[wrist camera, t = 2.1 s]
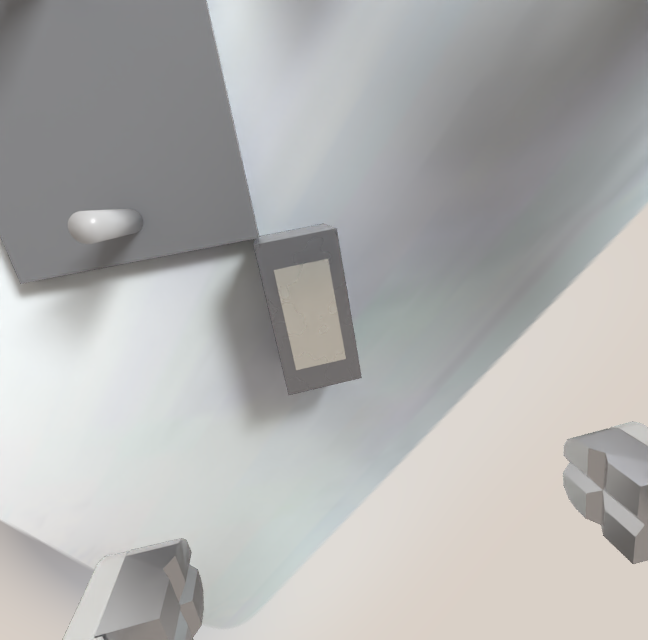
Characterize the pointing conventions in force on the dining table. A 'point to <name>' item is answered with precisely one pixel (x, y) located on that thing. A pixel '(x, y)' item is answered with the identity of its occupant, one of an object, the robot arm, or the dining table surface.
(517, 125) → the dining table surface
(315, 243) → the block
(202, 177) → the grey peg base
